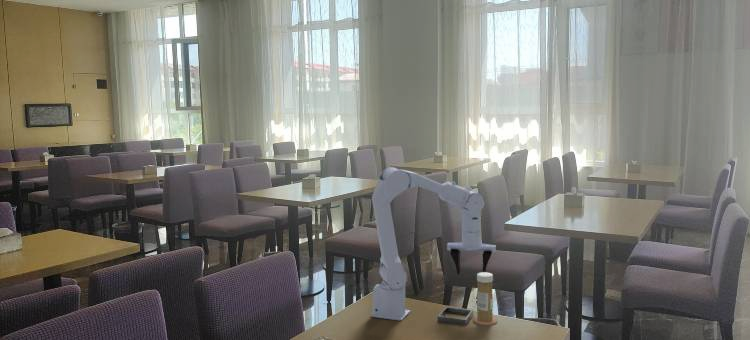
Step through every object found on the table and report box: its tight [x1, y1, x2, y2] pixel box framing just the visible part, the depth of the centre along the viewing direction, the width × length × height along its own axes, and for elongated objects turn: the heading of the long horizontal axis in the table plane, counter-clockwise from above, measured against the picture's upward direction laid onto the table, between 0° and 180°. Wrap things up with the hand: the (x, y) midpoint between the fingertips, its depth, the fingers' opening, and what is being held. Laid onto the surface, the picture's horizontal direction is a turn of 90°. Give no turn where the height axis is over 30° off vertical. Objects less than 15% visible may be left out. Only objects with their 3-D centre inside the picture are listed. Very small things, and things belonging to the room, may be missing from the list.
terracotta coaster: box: [472, 314, 498, 326], centre depth 166 cm, size 7×7×1 cm
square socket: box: [437, 306, 474, 326], centre depth 169 cm, size 8×8×2 cm
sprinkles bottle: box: [476, 271, 494, 322], centre depth 165 cm, size 5×5×14 cm
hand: (471, 273), depth 177 cm, fingers open, 7 cm apart
